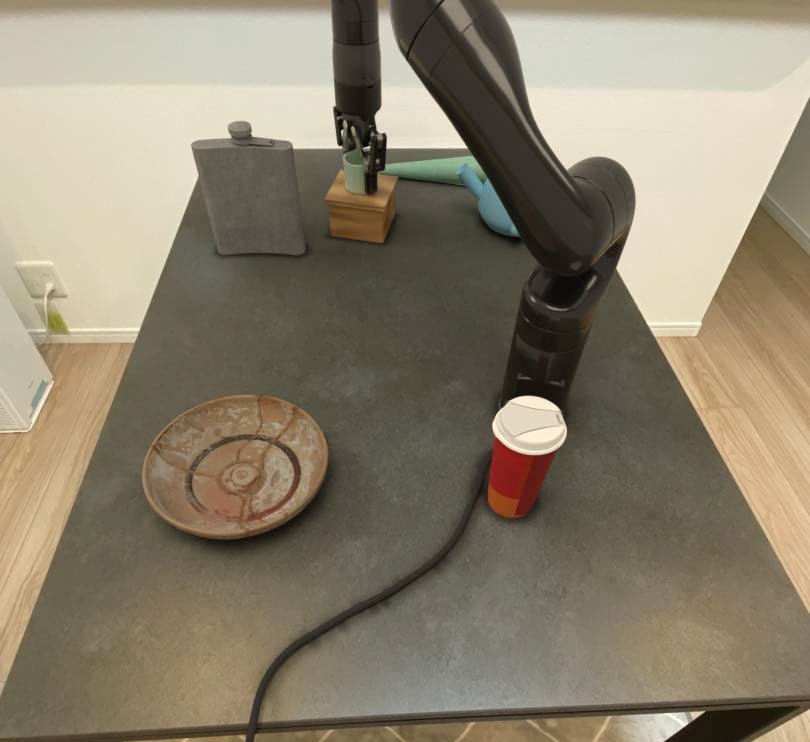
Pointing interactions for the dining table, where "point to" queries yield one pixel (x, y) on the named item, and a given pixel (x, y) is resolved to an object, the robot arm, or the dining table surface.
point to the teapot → (488, 202)
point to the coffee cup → (523, 453)
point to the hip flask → (250, 192)
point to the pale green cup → (354, 172)
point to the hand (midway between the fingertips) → (361, 184)
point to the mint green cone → (435, 170)
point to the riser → (362, 210)
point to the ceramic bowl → (235, 466)
